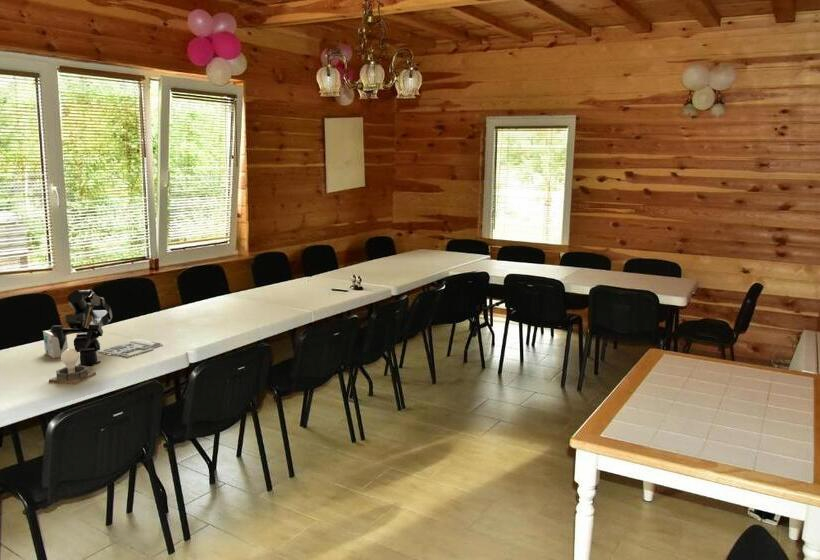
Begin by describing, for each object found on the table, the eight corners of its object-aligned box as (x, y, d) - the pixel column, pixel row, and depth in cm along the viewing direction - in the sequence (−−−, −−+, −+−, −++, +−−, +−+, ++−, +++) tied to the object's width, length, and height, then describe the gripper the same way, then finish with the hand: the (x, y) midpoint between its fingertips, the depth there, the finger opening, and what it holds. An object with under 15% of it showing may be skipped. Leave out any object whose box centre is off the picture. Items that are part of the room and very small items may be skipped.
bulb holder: (70, 372, 267) (70, 364, 266) (96, 374, 264) (95, 366, 264) (48, 382, 255) (47, 373, 255) (75, 384, 253) (74, 375, 252)
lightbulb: (78, 376, 258) (75, 350, 256) (61, 378, 256) (58, 351, 255) (82, 372, 264) (79, 346, 262) (65, 374, 262) (62, 347, 261)
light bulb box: (44, 353, 294) (42, 330, 292) (60, 350, 299) (58, 327, 297) (53, 358, 287) (50, 334, 285) (69, 354, 291) (66, 331, 289)
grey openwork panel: (139, 336, 314) (167, 341, 304) (139, 341, 315) (168, 347, 305) (96, 348, 294) (124, 354, 284) (96, 353, 295) (125, 359, 285)
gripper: (49, 306, 262) (40, 340, 253) (97, 305, 264) (90, 338, 255) (60, 320, 271) (51, 353, 262) (106, 319, 273) (99, 351, 264)
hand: (72, 349), depth 261 cm, fingers open, 9 cm apart
